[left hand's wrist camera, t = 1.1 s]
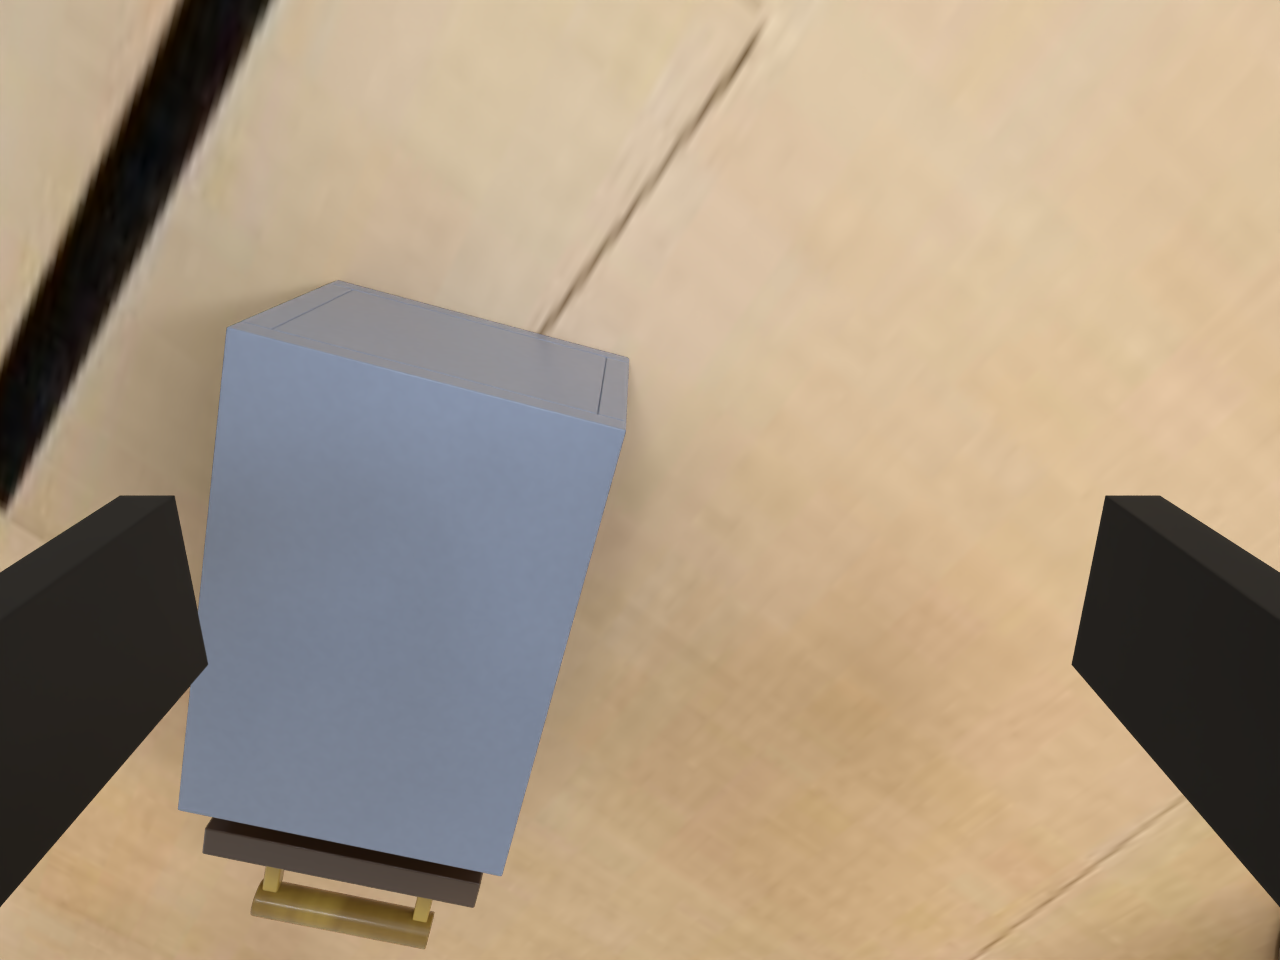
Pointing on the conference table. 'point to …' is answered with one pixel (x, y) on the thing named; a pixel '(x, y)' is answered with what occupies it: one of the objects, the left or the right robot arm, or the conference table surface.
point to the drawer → (347, 867)
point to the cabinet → (392, 569)
